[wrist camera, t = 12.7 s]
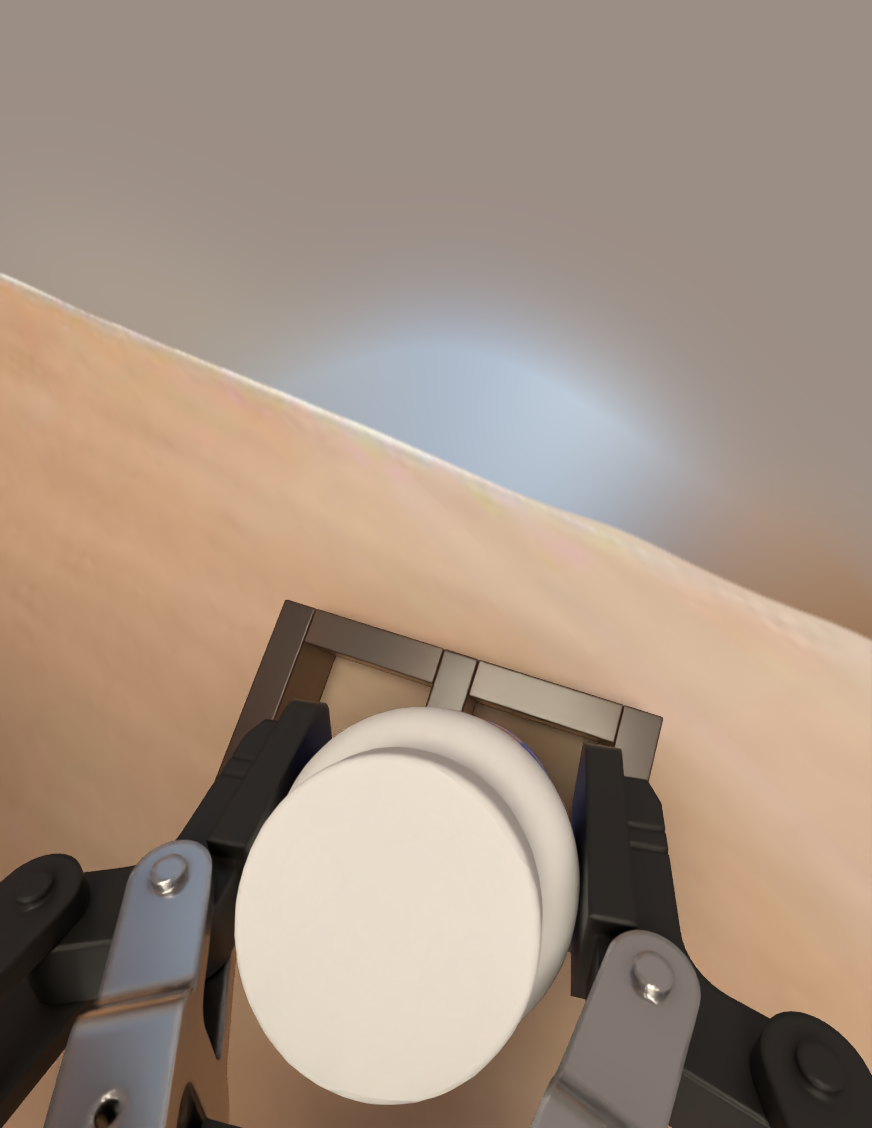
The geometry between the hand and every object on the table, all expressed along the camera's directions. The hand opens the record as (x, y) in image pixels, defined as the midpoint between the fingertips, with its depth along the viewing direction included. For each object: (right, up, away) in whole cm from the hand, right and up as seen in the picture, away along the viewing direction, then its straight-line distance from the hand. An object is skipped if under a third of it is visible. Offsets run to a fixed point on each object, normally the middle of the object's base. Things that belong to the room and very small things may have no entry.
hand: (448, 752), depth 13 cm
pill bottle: (0, -3, +4) cm, 5 cm away
